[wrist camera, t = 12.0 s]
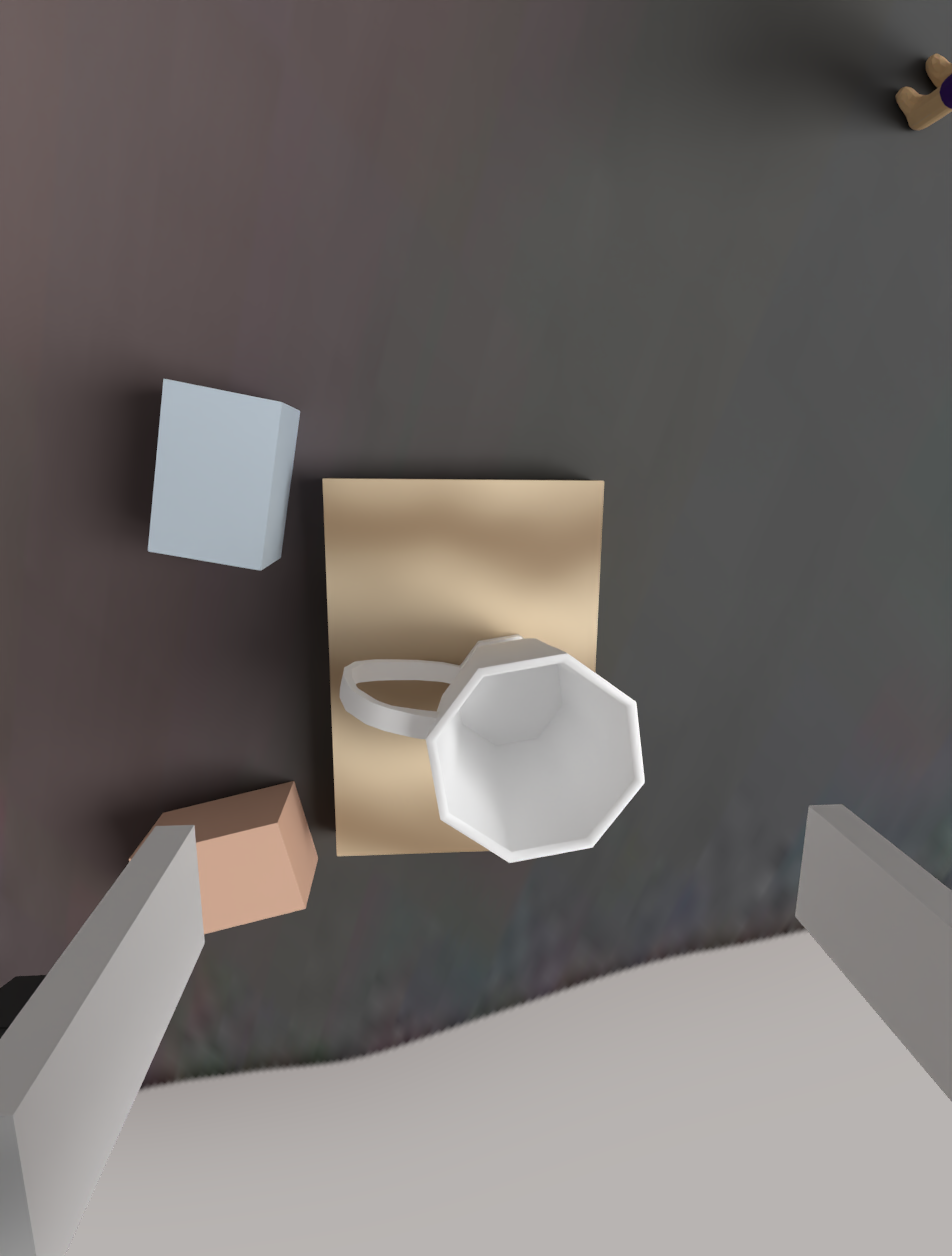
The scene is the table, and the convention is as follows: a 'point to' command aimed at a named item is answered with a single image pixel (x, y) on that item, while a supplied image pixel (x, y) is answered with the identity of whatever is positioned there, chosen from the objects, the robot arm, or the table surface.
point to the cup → (516, 743)
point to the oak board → (442, 619)
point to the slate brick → (222, 476)
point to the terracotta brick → (249, 855)
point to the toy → (928, 96)
